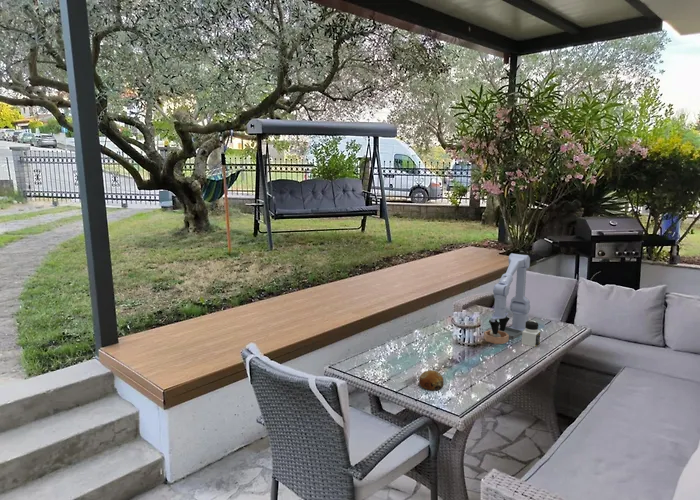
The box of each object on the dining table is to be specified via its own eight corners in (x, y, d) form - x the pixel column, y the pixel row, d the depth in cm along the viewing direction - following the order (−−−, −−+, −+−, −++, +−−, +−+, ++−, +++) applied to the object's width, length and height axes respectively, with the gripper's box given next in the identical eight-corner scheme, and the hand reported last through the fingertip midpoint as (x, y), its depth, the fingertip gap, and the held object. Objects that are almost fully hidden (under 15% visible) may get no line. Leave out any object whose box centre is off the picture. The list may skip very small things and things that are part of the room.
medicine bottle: (535, 347, 239) (537, 324, 237) (521, 344, 243) (522, 322, 242) (539, 343, 245) (541, 321, 243) (525, 340, 249) (527, 318, 247)
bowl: (491, 335, 258) (491, 328, 257) (511, 340, 249) (512, 333, 249) (480, 340, 250) (480, 333, 249) (500, 345, 241) (500, 339, 241)
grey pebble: (494, 336, 251) (494, 330, 249) (501, 338, 249) (502, 332, 247) (491, 340, 248) (491, 335, 246) (499, 343, 246) (499, 337, 244)
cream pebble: (493, 338, 254) (491, 331, 255) (499, 336, 251) (497, 329, 253) (488, 338, 251) (487, 330, 253) (495, 336, 249) (493, 328, 250)
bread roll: (441, 390, 200) (440, 370, 202) (446, 390, 190) (445, 369, 193) (418, 390, 200) (417, 370, 202) (422, 390, 190) (421, 369, 192)
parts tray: (503, 329, 267) (503, 325, 266) (523, 334, 258) (523, 331, 258) (491, 334, 258) (492, 330, 258) (512, 340, 250) (512, 336, 249)
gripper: (500, 302, 253) (498, 327, 255) (485, 308, 243) (484, 333, 245) (512, 305, 248) (510, 330, 250) (498, 311, 238) (496, 337, 240)
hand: (498, 332), depth 247 cm, fingers open, 7 cm apart
